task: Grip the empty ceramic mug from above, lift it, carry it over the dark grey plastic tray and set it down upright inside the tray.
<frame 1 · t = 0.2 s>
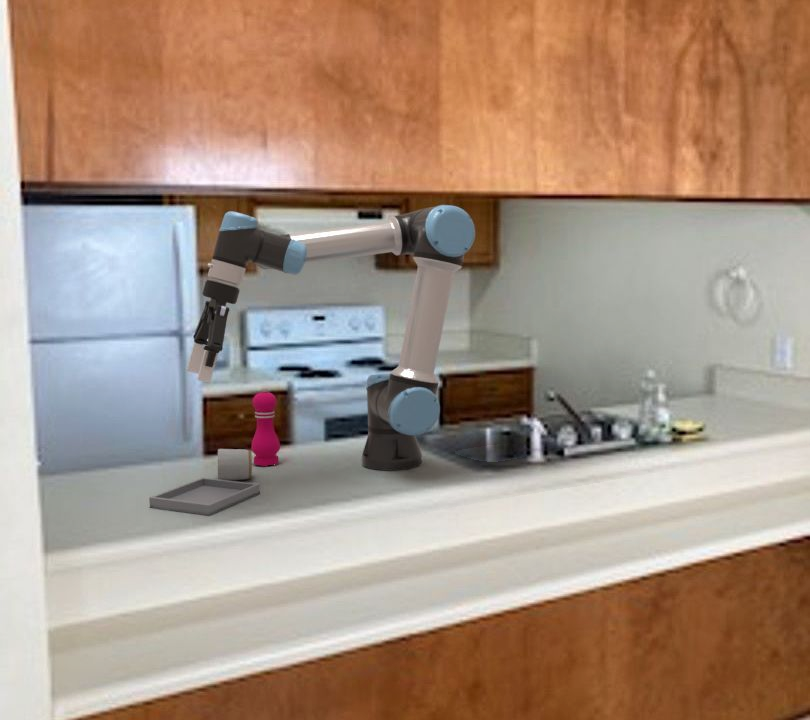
hand: (197, 376, 200), 27 cm above the table, tool tilted 20°, fingers open, 13 cm apart
pepper mill: (266, 464, 234), on the table
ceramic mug: (233, 479, 220), on the table
grey tray: (206, 500, 201), on the table
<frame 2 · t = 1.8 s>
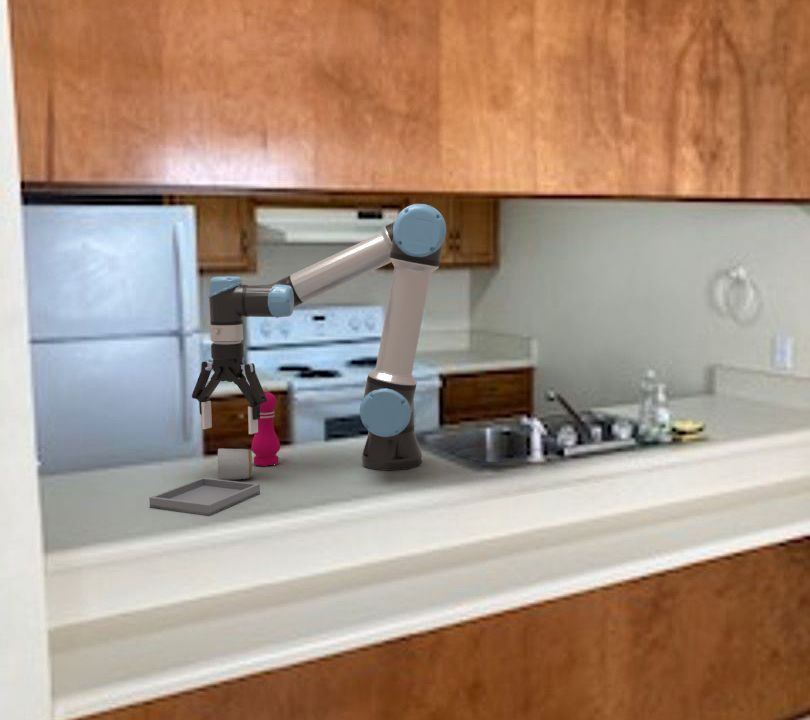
hand: (229, 430, 219), 12 cm above the table, tool pointing down, fingers open, 13 cm apart
nothing on the table moved.
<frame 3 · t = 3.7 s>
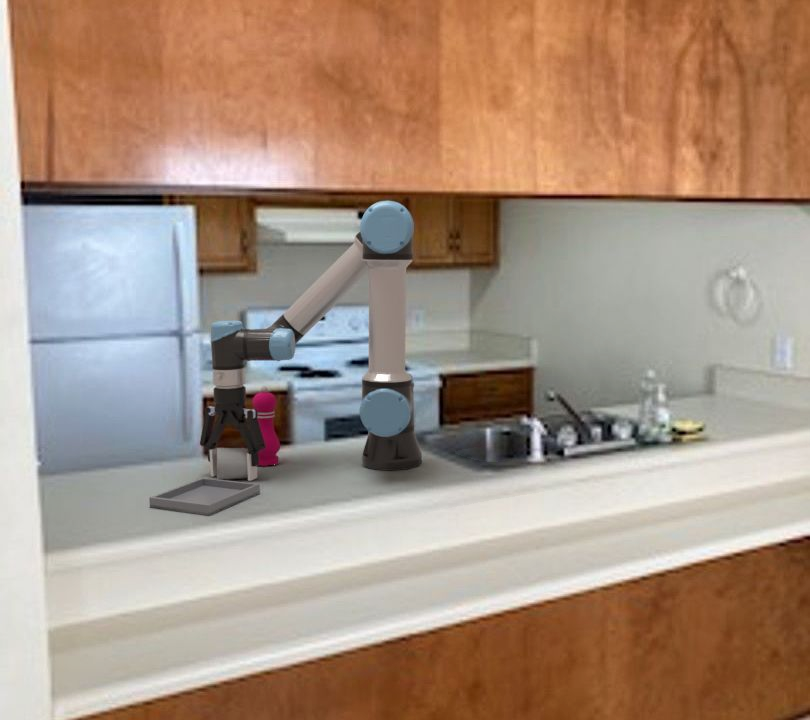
hand: (233, 477, 220), 0 cm above the table, tool pointing down, fingers closed on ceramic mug, 10 cm apart
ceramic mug: (233, 478, 221), on the table, touching gripper
everything else where it was.
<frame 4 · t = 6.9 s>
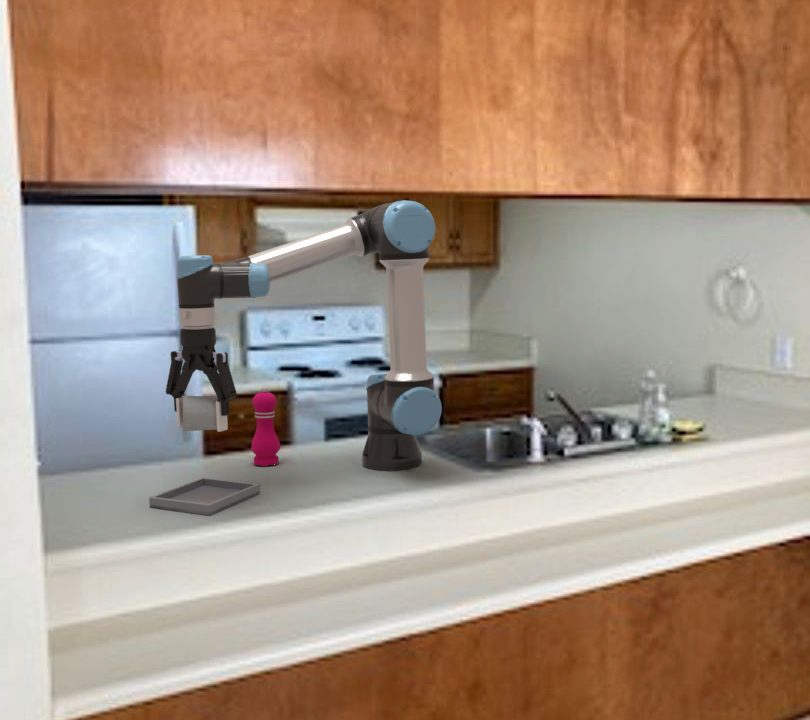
hand: (202, 428, 200), 16 cm above the table, tool pointing down, fingers closed on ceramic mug, 10 cm apart
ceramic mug: (201, 429, 201), point 16 cm above the table, touching gripper
everything else where it was.
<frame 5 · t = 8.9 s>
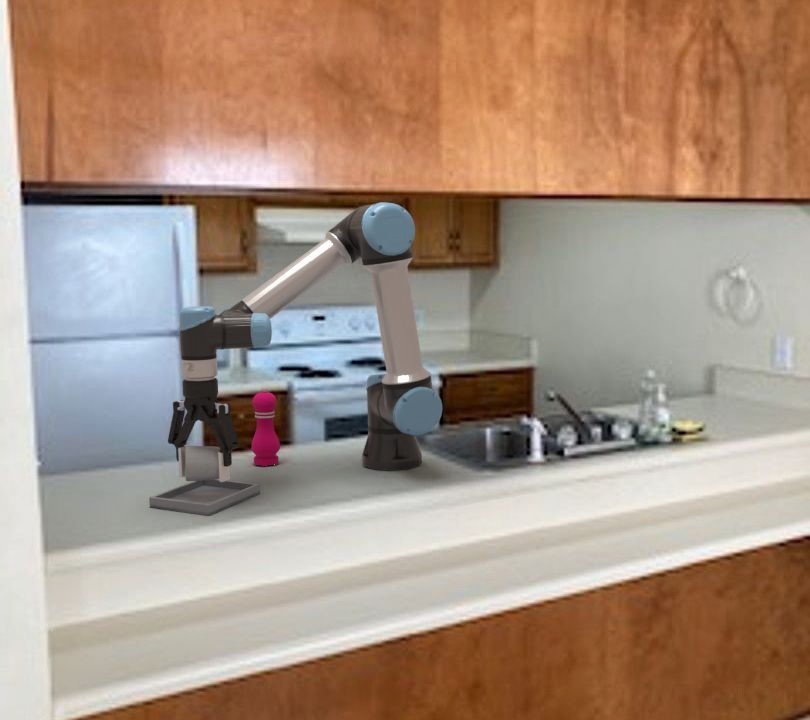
hand: (204, 478, 201), 5 cm above the table, tool pointing down, fingers closed on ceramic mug, 10 cm apart
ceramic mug: (203, 479, 202), point 5 cm above the table, touching gripper
everything else where it was.
when the fingers open (3 cm above the table, at t = 10.4 s): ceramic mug drops 2 cm, resting on grey tray.
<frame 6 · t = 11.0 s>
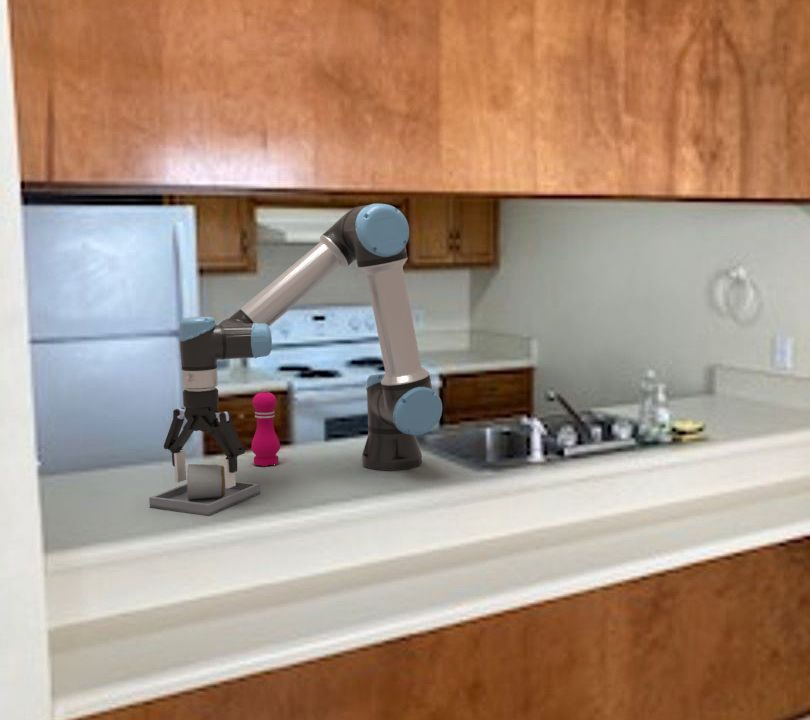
hand: (205, 484, 201), 4 cm above the table, tool pointing down, fingers open, 13 cm apart
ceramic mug: (205, 497, 202), resting on grey tray
everything else where it was.
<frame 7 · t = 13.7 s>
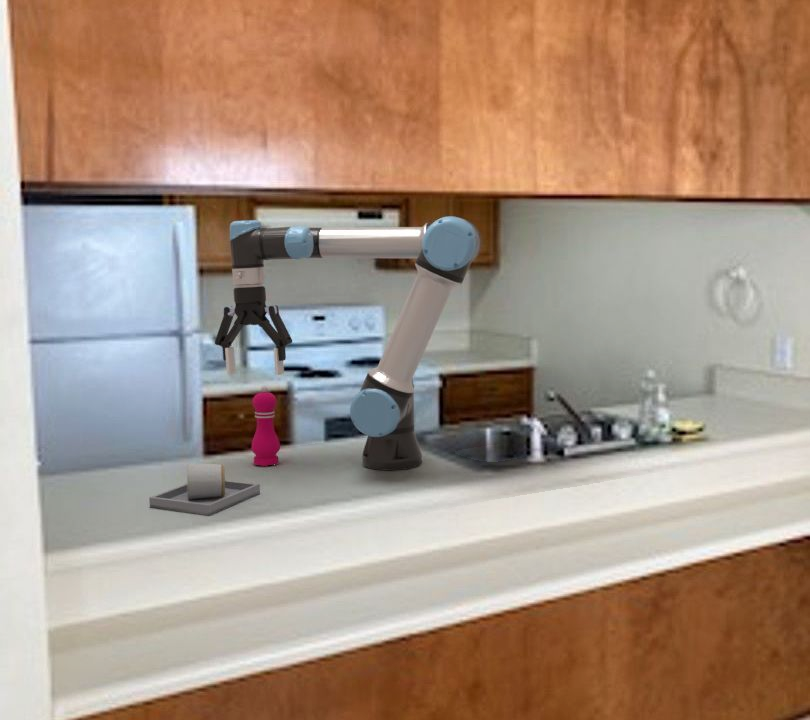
hand: (255, 374, 221), 25 cm above the table, tool pointing down, fingers open, 13 cm apart
nothing on the table moved.
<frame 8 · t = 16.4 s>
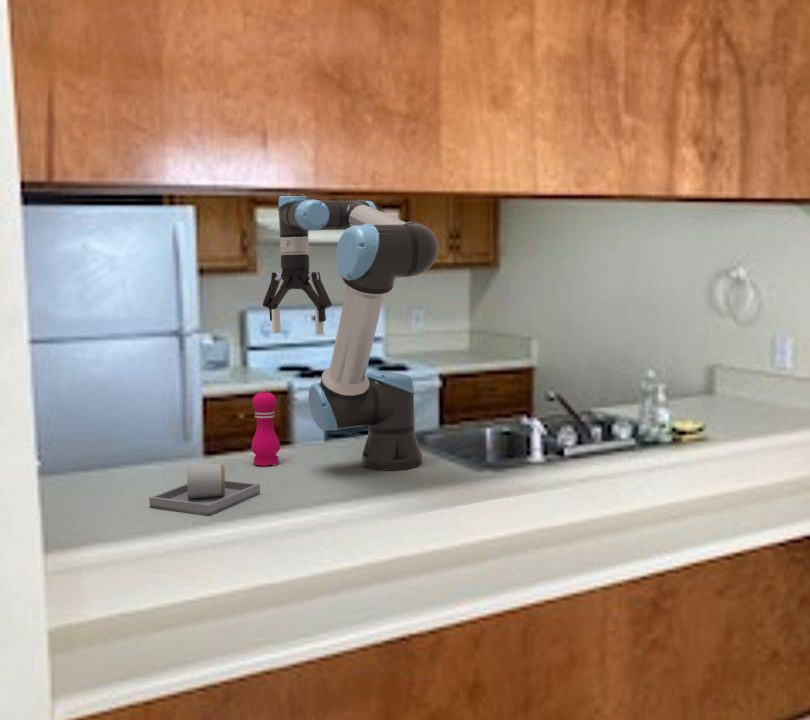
hand: (297, 333, 245), 32 cm above the table, tool pointing down, fingers open, 13 cm apart
nothing on the table moved.
at the end: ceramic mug inside the target area on the grey tray (2.0 cm from its centre), point 0.4 cm above the grey tray's base; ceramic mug tilted 0°; the gripper is holding nothing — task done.
